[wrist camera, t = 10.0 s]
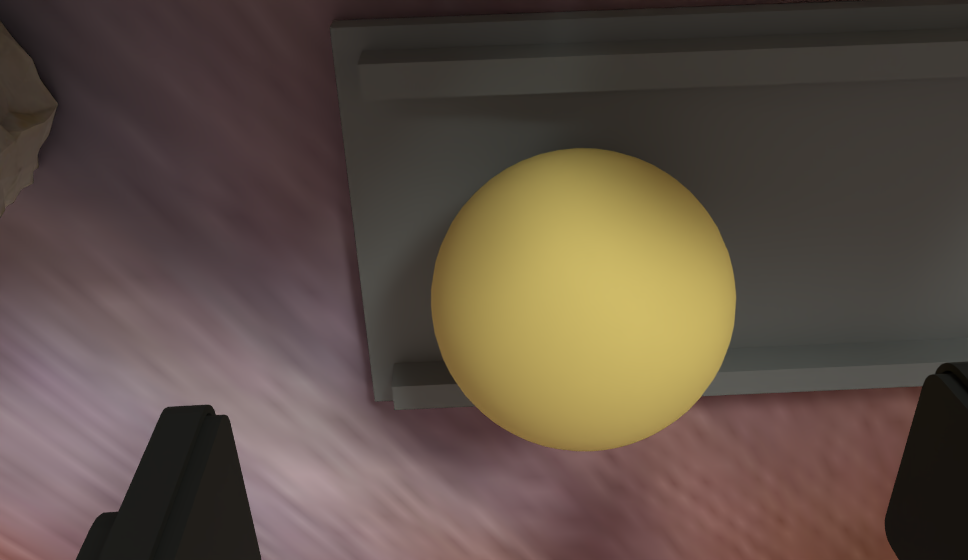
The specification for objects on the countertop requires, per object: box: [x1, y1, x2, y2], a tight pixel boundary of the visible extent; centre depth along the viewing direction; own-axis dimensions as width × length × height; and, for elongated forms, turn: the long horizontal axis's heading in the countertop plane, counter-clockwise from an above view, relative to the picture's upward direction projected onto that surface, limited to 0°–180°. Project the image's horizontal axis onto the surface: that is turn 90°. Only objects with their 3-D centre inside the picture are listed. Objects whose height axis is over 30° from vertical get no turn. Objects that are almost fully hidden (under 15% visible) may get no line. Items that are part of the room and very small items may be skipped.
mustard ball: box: [431, 148, 736, 451], centre depth 14 cm, size 5×5×5 cm
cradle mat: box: [330, 0, 968, 410], centre depth 16 cm, size 19×8×1 cm, turn 92°
